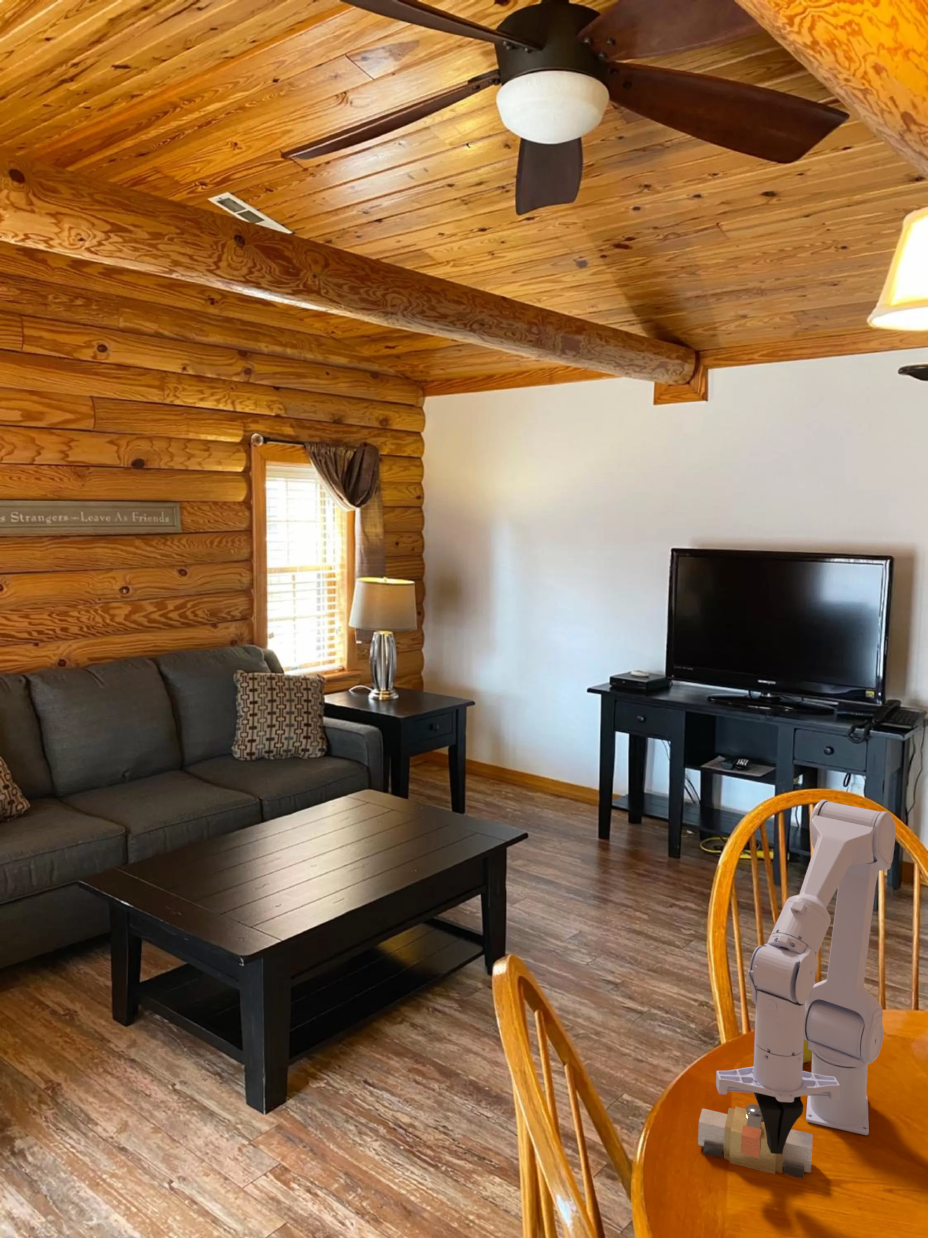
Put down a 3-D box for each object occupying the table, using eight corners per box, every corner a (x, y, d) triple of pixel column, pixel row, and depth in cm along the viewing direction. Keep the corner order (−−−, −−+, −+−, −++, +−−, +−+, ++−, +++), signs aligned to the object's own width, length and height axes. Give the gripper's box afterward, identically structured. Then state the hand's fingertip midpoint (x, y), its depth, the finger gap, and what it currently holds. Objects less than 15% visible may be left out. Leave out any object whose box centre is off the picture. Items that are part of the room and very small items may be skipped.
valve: (702, 1130, 127) (703, 1095, 126) (811, 1156, 122) (813, 1120, 121) (696, 1154, 122) (697, 1118, 121) (810, 1183, 116) (811, 1146, 116)
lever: (746, 1115, 123) (747, 1097, 123) (765, 1119, 122) (766, 1102, 122) (739, 1153, 115) (740, 1135, 115) (760, 1158, 114) (760, 1140, 114)
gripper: (725, 1059, 111) (721, 1166, 112) (850, 1065, 110) (845, 1174, 111) (714, 1028, 118) (710, 1130, 119) (831, 1033, 117) (826, 1136, 118)
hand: (774, 1149), depth 115 cm, fingers closed
